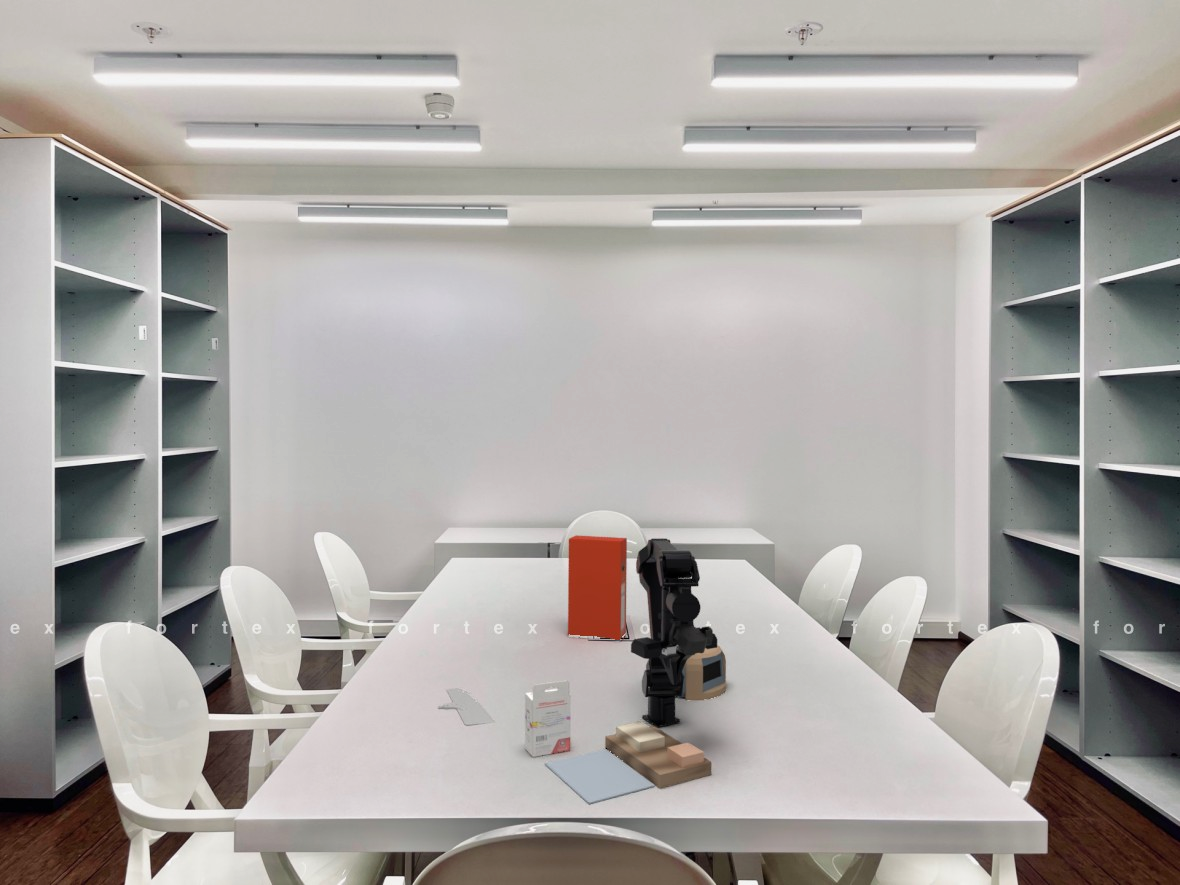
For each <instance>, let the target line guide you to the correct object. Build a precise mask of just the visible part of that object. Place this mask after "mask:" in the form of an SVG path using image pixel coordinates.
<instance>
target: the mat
mask: <svg viewBox="0 0 1180 885" xmlns="http://www.w3.org/2000/svg"><path fill="white" fill-rule="evenodd" d="M544 765H545V766H546V767H547V768H548V769H549V770H550V771H551V772H553V774H555V775H556V776H557V777H558V778H559V779H560V780H562V782H563V783H564V784H566V785H567V786H568V787H569V788H570V789H571V790H572V791H574V792H575V793H576V794H577V795H578V797H580V798H581V799H582V800H583V801H584V802H586V803H587V804H588V805H591V804H595V803H598V802H602V801H607V800H610V799H615V798H618V797H621V796H626V795H630V794H634V793H637V792H640V791H644V790H648V789H652V788H655V786H656V785H655V784H653V783H652V782H650V781H649V780H648V779H646V778H645V777H644V776H642V775H641V774H640V773H638V772H637V771H636V770H634V769H633V768H631V767H630V766H629V765H627V764H626V763H625V762H623V761H622V760H621V759H619V758H618V757H617V756H615V755H614V754H612V753H611V752H610V751H608V750H607V749H606V748H605V749H604V748H603V749H600V750H596V751H591V752H586V753H582V754H578V755H573V756H569V757H565V758H561V759H556V760H553V761H551V760H550V761H548V762H544Z"/></svg>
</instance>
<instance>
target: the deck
mask: <svg viewBox="0 0 1180 885" xmlns="http://www.w3.org/2000/svg"><path fill="white" fill-rule="evenodd" d="M649 727H650V728H651V729H653V730H655V731H656V732H658V733H659V734H661V735H663V736H664V737H665V747H661V748H656V749H652V750H648V751H644V752H638V751H637V750H635V749H634V748H632V747H631V746H630V745H628V744H627V743H625V742H624V741H622V740H621V739H619V738H618V737H616V733H614V734H610V735H606V736H604V740H605V741H604V742H605V743H604V744H605V746H604V747H605V749H606V748H607V749H608V750H609V752H610V751H611V752H612V753H613V755H614V754H615V755H616V757H617V756H618V757H619V758H620V760H621V761H622V760H623V761H624V763H625V764H628V766H629V767H631V768H632V769H633V770H635V771H636V772H637V773H639V774H640V775H642V776H643V777H644V778H646V779H647V780H648V781H650V782H651V783H652V784H654V785H655V786H656V787H658V789H663V788H667V787H671V786H674V785H675V786H676V785H677V784H681V783H685V782H686V783H687V782H689V781H693V780H696V779H699V778H700V779H701V778H704V777H707V776H711V775H712V761H711V760H709V759H707V758H706V757H705V756H704V762H703V763H699V764H695V765H691V766H687V767H684V768H682V767H681V766H679V765H678V764H676V763H675V762H673V761H672V760H670V759H669V758H667V747H671V746H676V745H680V744H683V743H682V742H680V741H678V740H677V739H675V738H673V737H672V736H671V735H669V734H667V733H666V732H664V731H662V730H661V729H659V728H658V727H656V726H655V725H651V726H649ZM607 749H606V750H607ZM611 752H610V753H611ZM615 755H614V756H615ZM618 757H617V758H618ZM619 758H618V759H619Z"/></svg>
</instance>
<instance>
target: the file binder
mask: <svg viewBox="0 0 1180 885" xmlns="http://www.w3.org/2000/svg"><path fill="white" fill-rule="evenodd" d="M627 542H628V539H627V537H614V536H613V537H611V536H610V537H609V536H597V535H596V536H593V535H591V536H590V535H574V536H572V537H569V538H568V573H567V574H568V581H567V582H568V584H567V585H568V588H567V589H568V591H567V602H568V605H567V607H568V608H567V635H568V634H570V635H580V636H597V637H605V638H610V639H615V640H620V639H621V638H622V636H623V635H624V634H625V633H626V634H627V569H628V568H627V566H628V564H627V563H628V562H627V561H628V560H627V558H628V557H627V556H628V555H627V551H628V550H627V549H628V547H627V546H628V544H627Z"/></svg>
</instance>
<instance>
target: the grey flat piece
mask: <svg viewBox="0 0 1180 885" xmlns="http://www.w3.org/2000/svg"><path fill="white" fill-rule="evenodd" d="M459 688H460V687H457V688H447V689H446V692H447V694H448V696H449V698H450V699H451V701H452V702H447V703H444V704H443V705H438V707H437V708H438V709H439V710H445V711H446V710H447V711H448V710H457V712H458V714H459V716H460V719H461V720H462V722H463V724H464V725H465V726H472V725H474V726H475V725H484V724H491V723H496V721H495V720H494V718H493V717H492V716H491V715H490V713H488V712H487V710H486V709H485V707H484V706H483V705H482V704H481V703H480V702H479V701H478V700H477V699H476V700H477V702H475V701H476V700H475V699H473V698H472V697H471V696H470V695H468V694H470V693H471V692H470V693H468V692H467V691H464V693H463V692H462V691H463V690H462V689H459ZM458 690H459V691H458ZM467 693H468V694H467ZM473 697H475V696H474V695H473Z"/></svg>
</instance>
